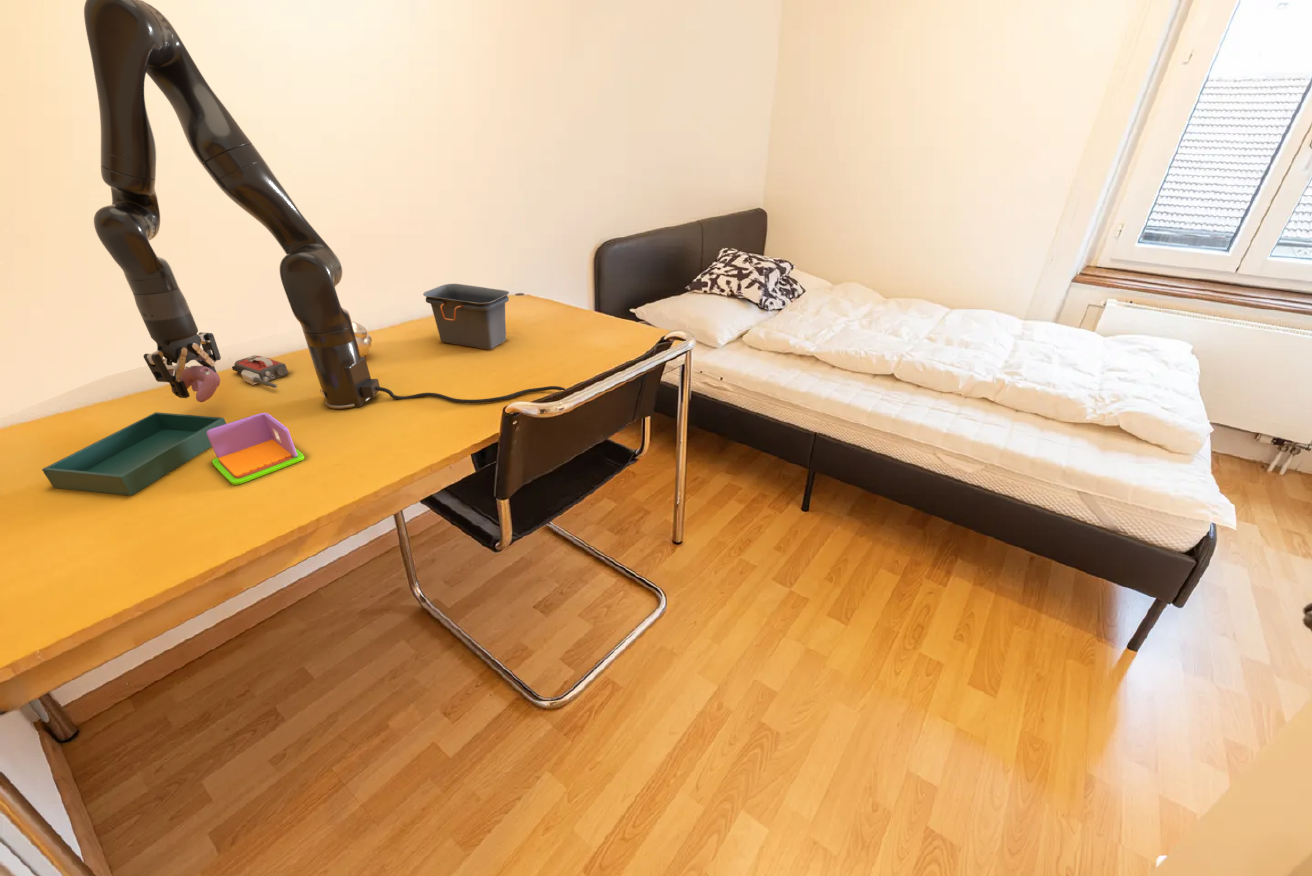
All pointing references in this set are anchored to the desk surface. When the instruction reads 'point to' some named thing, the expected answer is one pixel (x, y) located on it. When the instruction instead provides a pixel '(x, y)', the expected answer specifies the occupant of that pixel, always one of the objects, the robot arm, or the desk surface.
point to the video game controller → (201, 381)
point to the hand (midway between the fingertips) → (199, 389)
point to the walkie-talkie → (260, 370)
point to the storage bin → (469, 314)
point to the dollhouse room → (252, 448)
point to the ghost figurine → (362, 338)
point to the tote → (134, 454)
